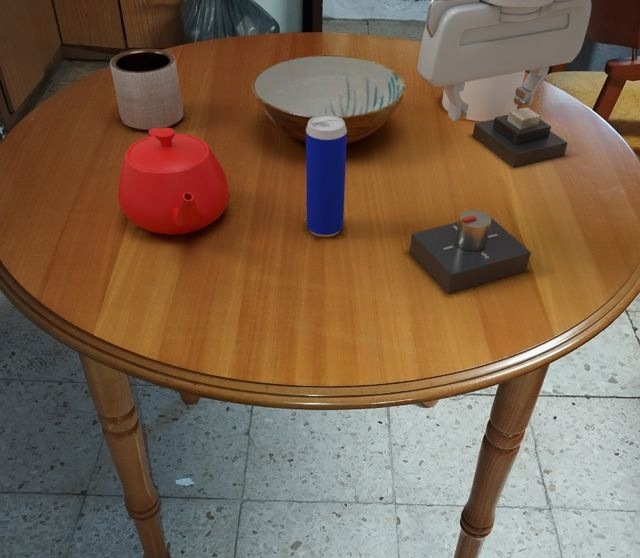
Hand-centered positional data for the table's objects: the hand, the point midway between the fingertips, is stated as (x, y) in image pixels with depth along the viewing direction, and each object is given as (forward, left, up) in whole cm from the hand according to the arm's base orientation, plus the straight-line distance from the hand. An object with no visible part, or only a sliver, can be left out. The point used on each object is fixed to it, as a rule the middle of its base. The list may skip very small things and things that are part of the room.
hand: (490, 111), depth 81 cm
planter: (+30, -54, -18) cm, 65 cm away
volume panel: (+3, +5, -18) cm, 18 cm away
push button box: (-23, -20, -18) cm, 36 cm away
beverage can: (+17, -10, -18) cm, 27 cm away
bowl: (+4, -37, -18) cm, 42 cm away
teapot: (+35, -21, -18) cm, 45 cm away
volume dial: (+3, +5, -15) cm, 16 cm away
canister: (-26, -36, -18) cm, 48 cm away
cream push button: (-23, -20, -14) cm, 34 cm away
